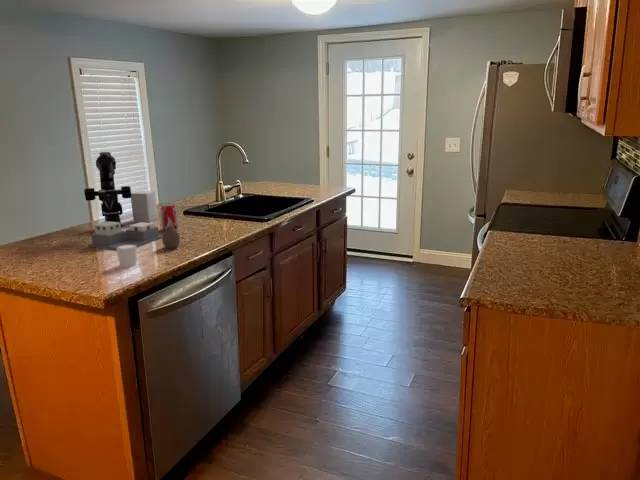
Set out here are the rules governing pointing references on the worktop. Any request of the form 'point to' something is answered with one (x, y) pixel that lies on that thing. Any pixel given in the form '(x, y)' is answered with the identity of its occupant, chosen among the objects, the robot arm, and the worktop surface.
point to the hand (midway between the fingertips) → (109, 208)
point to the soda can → (169, 215)
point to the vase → (171, 238)
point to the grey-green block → (107, 228)
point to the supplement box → (144, 206)
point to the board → (125, 238)
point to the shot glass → (127, 255)
